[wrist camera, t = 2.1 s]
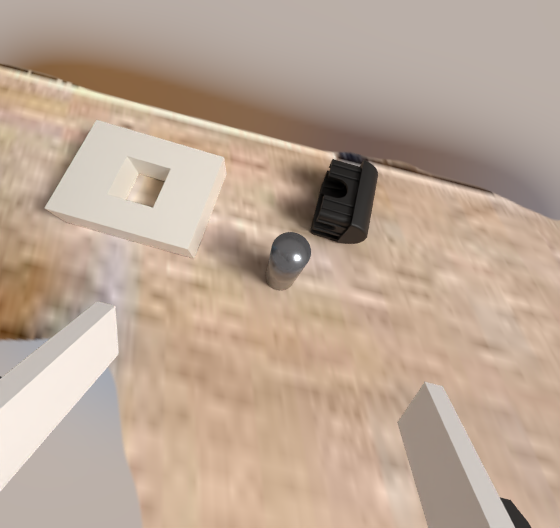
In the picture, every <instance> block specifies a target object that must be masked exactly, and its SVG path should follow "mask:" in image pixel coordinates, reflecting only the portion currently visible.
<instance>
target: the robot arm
mask: <svg viewBox="0 0 560 528" xmlns="http://www.w3.org/2000/svg"><path fill="white" fill-rule="evenodd" d="M118 354H119V352H118V337H117V322H116V308H115V306H114V305H110V304H106V303H102V302H98V301H97V302H96V303H94V304H93V305H92V306H91V307H89V308H88V309H87V310H86V311H84V312H83V313H82V314H81V315H79V316H78V317H77V318H76V319H74V320H73V321H72V322H71V323H69V324H68V325H67V326H66V327H64V328H63V329H62V330H61V331H59V332H58V333H57V334H56V335H54V336H53V337H52V338H51V339H49V340H48V341H47V342H46V343H44V344H43V345H42V346H41V347H39V348H38V349H37V350H36V351H34V352H33V353H32V354H31V355H29V356H28V357H27V358H26V359H24V360H23V361H22V362H21V363H20V364H18V365H17V366H16V367H14V368H13V369H12V370H11V371H9V372H8V373H7V374H6V375H4V376H3V377H0V491H1V490H2V489H3V488H4V486H5V485H6V484H7V483H8V482H9V481H10V479H11V478H12V477H13V476H14V475H15V474H16V473H17V471H18V470H19V469H20V468H21V467H22V465H23V464H24V463H25V462H26V461H27V460H28V459H29V457H30V456H31V455H32V454H33V453H34V451H36V449H37V448H38V447H39V446H40V445H41V444H42V442H43V441H44V440H45V439H46V438H47V437H48V435H49V434H50V433H51V432H52V431H53V429H54V428H55V427H56V426H57V425H58V424H59V423H60V421H61V420H62V419H63V418H64V417H65V416H66V414H67V413H68V412H69V411H70V410H71V409H72V408H73V406H74V405H75V404H76V403H77V402H78V400H79V399H80V398H81V397H82V396H83V394H85V392H86V391H87V390H88V389H89V388H90V387H91V385H92V384H93V383H94V382H95V381H96V379H97V378H98V377H99V376H100V375H101V374H102V373H103V372H104V370H105V369H106V368H107V367H108V366H109V365H110V363H111V362H112V361H113V360H114V359H115V358H116V356H117V355H118ZM397 423H398V426H399V429H400V433H401V436H402V440H403V443H404V446H405V450H406V453H407V457H408V460H409V463H410V467H411V470H412V474H413V477H414V480H415V484H416V487H417V491H418V494H419V497H420V501H421V504H422V508H423V511H424V515H425V518H426V521H427V525H428V528H531V526H530V525H529V523H528V522H527V520H526V519H525V518H524V516H523V515H522V514H521V513H520V511H519V510H518V509H517V508H516V506H515V505H514V504H513V503H512V501H511V500H508V499H504V498H500V497H499V495H498V493H497V491H496V489H495V487H494V485H493V483H492V482H491V480H490V478H489V476H488V474H487V472H486V470H485V468H484V466H483V464H482V462H481V460H480V458H479V456H478V454H477V452H476V450H475V448H474V446H473V444H472V442H471V441H470V439H469V437H468V435H467V433H466V431H465V429H464V427H463V425H462V423H461V421H460V419H459V417H458V415H457V413H456V411H455V409H454V407H453V405H452V403H451V401H450V400H449V398H448V396H447V394H446V392H445V390H444V388H443V386H440V385H436V384H432V383H428V382H424V384H423V385H422V387H421V388H420V390H419V391H418V393H417V394H416V395H415V397H414V398H413V400H412V401H411V403H410V404H409V406H408V407H407V409H406V410H405V412H404V413H403V415H402V416H401V418H400V419H399V420H398V422H397Z"/></svg>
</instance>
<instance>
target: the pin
mask: <svg viewBox="0 0 560 528" xmlns="http://www.w3.org/2000/svg"><path fill="white" fill-rule="evenodd" d="M310 256H311V248H310V245H309V243H308V241H307V240H306V239H305V238H304V237H303V236H301V235H300V234H297V233H293V232H288V233H283V234H281V235H279V236H278V237H277V238H276V239H275V240H274V242H273V244H272V248H271V253H270V258H269V263H268V267H267V272H266V280H267V282H268V284H269V285H270V286H271V287H272V288H273V289H276V290H286V289H288V288H289V287H291V285H292V284H293V283H294V281H295V280H296V278H297V277H298V275H299V274H300V273H301V271H302V270H303V268H304V267H305V265H306V264H307V263H308V261H309V259H310Z"/></svg>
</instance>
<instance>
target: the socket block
mask: <svg viewBox="0 0 560 528" xmlns="http://www.w3.org/2000/svg"><path fill="white" fill-rule="evenodd" d="M139 174H141V175H145V176H148V177H152V178H155V179H159V180H162V181H165V183H164V185H163V187H162V189H161V191H160V194H159V196H158V198H157V200H156V202H155V204H154V207H149V206H146V205H142V204H139V203H135V202H132V201H128V200H126V199H127V197H128V195H129V193H130V191H131V189H132V187H133V185H134V183H135V181H136V179H137V177H138V175H139ZM225 177H226V167H225V161H224V157H221V156H218V155H215V154H211V153H208V152H204V151H201V150H198V149H194V148H191V147H187V146H184V145H181V144H177V143H174V142H170V141H167V140H164V139H160V138H157V137H153V136H150V135H147V134H143V133H140V132H136V131H133V130H130V129H126V128H123V127H119V126H116V125H113V124H109V123H106V122H102V121H99V120H96V122H95V123H94V125H93V127H92V129H91V130H90V132H89V134H88V135H87V137H86V139H85V140H84V142H83V144H82V145H81V147H80V149H79V151H78V152H77V154H76V156H75V157H74V159H73V161H72V162H71V164H70V166H69V167H68V169H67V171H66V172H65V174H64V176H63V178H62V179H61V181H60V183H59V184H58V186H57V188H56V189H55V191H54V193H53V194H52V196H51V198H50V200H49V201H48V203H47V205H46V206H45V209H46V210H48V211H49V212H51V213H52V214H54V215H56V216H57V217H59V218H60V219H62V220H63V221H65V222H67V223H71V224H74V225H78V226H81V227H85V228H88V229H92V230H95V231H99V232H102V233H106V234H109V235H113V236H116V237H120V238H123V239H127V240H130V241H134V242H137V243H141V244H144V245H148V246H151V247H155V248H158V249H162V250H165V251H169V252H172V253H176V254H179V255H183V256H186V257H189V258H193V259H194V258H195V256H196V253H197V250H198V248H199V245H200V242H201V240H202V237H203V235H204V232H205V229H206V227H207V224H208V222H209V219H210V216H211V214H212V211H213V208H214V206H215V203H216V201H217V198H218V195H219V193H220V190H221V188H222V185H223V182H224V180H225Z"/></svg>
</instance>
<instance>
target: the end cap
mask: <svg viewBox="0 0 560 528" xmlns="http://www.w3.org/2000/svg"><path fill="white" fill-rule="evenodd" d="M329 168H330V171H327V173H326V175H325V178H324V181H323V183H322V186H321V190H320V194H319V198H318V202H317V206H316V210H315V214H314V218H313V223H312V227H311V233H312V234H314V235H317V236H320V237H324V238H328V239H331V240H335V241H337V242H339V243H345V244H355V243H360V242H362V241H364V240H365V239H366V238H367V234H368V229H369V223H370V217H371V212H372V206H373V200H374V195H375V189H376V183H377V178H378V172H377V169H376V168H375V167H374V166H373V165H372V164H371V163H369V162H367V161H363V162H362V164H361V166H360V167H358V166H355V165H351V164H348V163H344V162H341V161H337V160H334V159H332V161H331V164H330V167H329Z"/></svg>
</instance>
